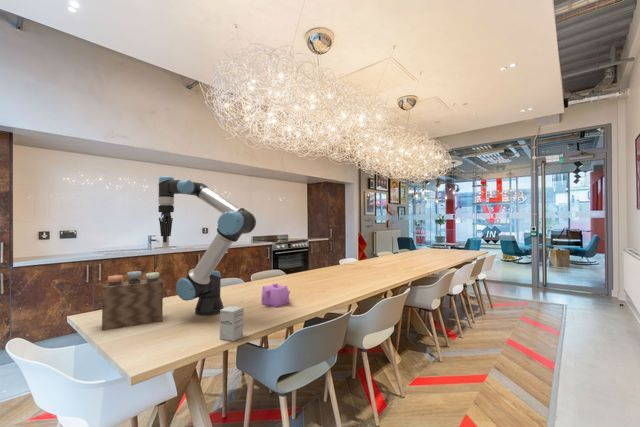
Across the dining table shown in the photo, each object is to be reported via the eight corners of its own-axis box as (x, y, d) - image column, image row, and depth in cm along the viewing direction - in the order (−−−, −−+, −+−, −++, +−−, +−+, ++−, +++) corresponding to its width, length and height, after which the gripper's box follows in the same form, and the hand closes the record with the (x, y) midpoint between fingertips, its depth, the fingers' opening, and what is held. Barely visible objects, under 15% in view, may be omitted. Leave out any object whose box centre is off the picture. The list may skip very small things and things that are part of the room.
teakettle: (261, 301, 189) (261, 281, 190) (288, 299, 192) (288, 280, 193) (261, 308, 172) (261, 287, 173) (290, 307, 176) (290, 286, 176)
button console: (101, 330, 138) (102, 284, 139) (104, 324, 147) (105, 280, 147) (162, 321, 151) (162, 278, 152) (161, 315, 160) (161, 275, 160)
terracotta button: (107, 286, 141) (107, 277, 141) (108, 283, 146) (108, 275, 147) (122, 284, 144) (122, 276, 144) (122, 282, 149) (123, 274, 150)
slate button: (127, 281, 145) (127, 273, 146) (127, 279, 151) (127, 271, 151) (141, 280, 148) (141, 272, 149) (141, 278, 154) (141, 270, 154)
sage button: (145, 282, 149) (146, 274, 150) (145, 280, 155) (145, 272, 155) (159, 281, 152) (159, 273, 153) (158, 279, 158) (158, 271, 158)
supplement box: (219, 339, 127) (219, 309, 128) (230, 333, 134) (230, 305, 134) (233, 341, 124) (233, 311, 125) (243, 335, 131) (244, 306, 132)
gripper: (164, 205, 168) (163, 247, 167) (153, 204, 155) (153, 249, 154) (177, 205, 169) (177, 247, 168) (168, 204, 156) (168, 249, 155)
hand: (165, 248), depth 161 cm, fingers closed
